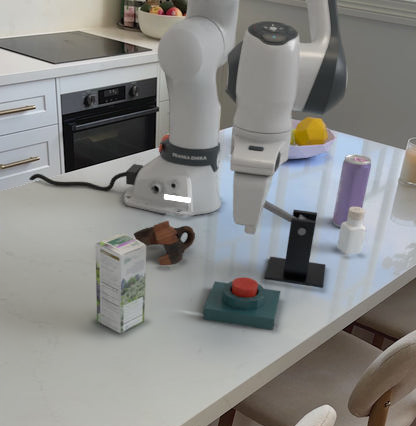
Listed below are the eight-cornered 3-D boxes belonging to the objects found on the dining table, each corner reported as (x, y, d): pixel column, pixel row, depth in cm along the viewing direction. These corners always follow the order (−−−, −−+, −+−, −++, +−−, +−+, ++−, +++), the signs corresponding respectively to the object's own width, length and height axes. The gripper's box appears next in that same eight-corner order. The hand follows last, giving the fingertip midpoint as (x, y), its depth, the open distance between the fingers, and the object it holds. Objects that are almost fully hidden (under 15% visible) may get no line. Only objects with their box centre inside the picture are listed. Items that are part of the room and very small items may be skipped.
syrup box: (121, 309, 115) (120, 231, 106) (145, 322, 112) (147, 242, 104) (96, 321, 111) (93, 241, 103) (121, 335, 108) (120, 254, 100)
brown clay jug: (149, 275, 127) (133, 233, 125) (140, 274, 136) (125, 235, 134) (206, 253, 129) (192, 211, 127) (194, 253, 138) (180, 214, 136)
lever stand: (264, 282, 126) (272, 221, 119) (269, 261, 134) (277, 203, 126) (322, 291, 125) (333, 229, 118) (324, 269, 132) (335, 210, 125)
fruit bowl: (284, 133, 207) (289, 94, 200) (351, 158, 190) (359, 117, 184) (215, 146, 191) (218, 105, 185) (281, 175, 175) (287, 131, 169)
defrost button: (229, 296, 114) (230, 287, 113) (233, 284, 117) (234, 275, 116) (255, 300, 113) (256, 291, 112) (258, 288, 117) (259, 279, 116)
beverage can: (358, 231, 149) (372, 164, 140) (331, 227, 150) (343, 161, 141) (358, 221, 154) (372, 156, 145) (332, 217, 154) (344, 152, 146)
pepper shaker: (335, 249, 140) (343, 206, 135) (351, 247, 142) (360, 204, 136) (344, 257, 137) (353, 214, 132) (361, 255, 139) (371, 212, 133)
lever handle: (241, 205, 122) (250, 189, 120) (244, 199, 124) (253, 183, 122) (304, 239, 123) (313, 224, 121) (305, 232, 126) (315, 217, 124)
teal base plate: (203, 319, 114) (204, 298, 112) (213, 291, 122) (215, 272, 120) (272, 330, 113) (275, 309, 110) (278, 301, 121) (281, 282, 118)
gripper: (249, 123, 109) (241, 204, 117) (228, 162, 93) (221, 253, 101) (287, 128, 109) (276, 209, 117) (273, 168, 92) (262, 259, 100)
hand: (250, 230), depth 109 cm, fingers closed
